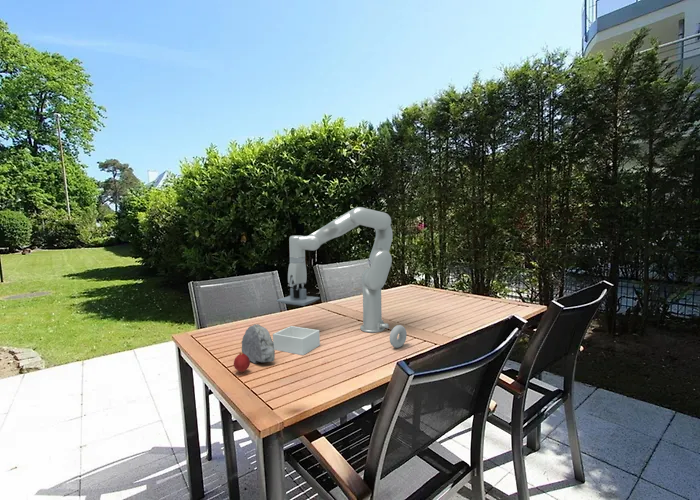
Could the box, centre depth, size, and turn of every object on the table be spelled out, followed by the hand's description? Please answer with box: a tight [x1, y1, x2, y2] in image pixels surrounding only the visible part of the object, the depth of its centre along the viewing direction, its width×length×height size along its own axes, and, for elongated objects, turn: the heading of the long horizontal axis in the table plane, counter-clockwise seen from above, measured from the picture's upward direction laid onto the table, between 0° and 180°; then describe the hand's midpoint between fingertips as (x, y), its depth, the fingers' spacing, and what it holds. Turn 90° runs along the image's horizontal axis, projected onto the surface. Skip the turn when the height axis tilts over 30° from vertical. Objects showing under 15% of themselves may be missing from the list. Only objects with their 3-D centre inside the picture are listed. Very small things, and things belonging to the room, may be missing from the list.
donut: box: [389, 324, 408, 349], centre depth 152 cm, size 10×4×10 cm, turn 133°
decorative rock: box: [241, 324, 276, 364], centre depth 140 cm, size 16×7×15 cm, turn 49°
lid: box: [275, 287, 321, 307], centre depth 172 cm, size 17×14×7 cm
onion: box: [233, 351, 251, 374], centre depth 130 cm, size 6×6×8 cm
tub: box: [272, 325, 321, 356], centre depth 155 cm, size 16×13×7 cm
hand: (298, 297), depth 172 cm, fingers closed on lid, 2 cm apart
